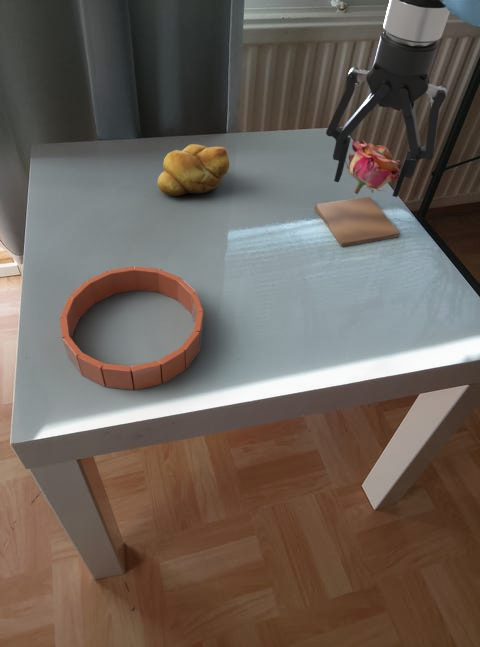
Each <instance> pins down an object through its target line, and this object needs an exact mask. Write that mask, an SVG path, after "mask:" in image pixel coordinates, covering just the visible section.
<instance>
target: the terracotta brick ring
mask: <svg viewBox="0 0 480 647" xmlns="http://www.w3.org/2000/svg"><path fill="white" fill-rule="evenodd" d="M131 291H143V292H155V293H160V294H162V295H164V296H167V297H169V298H172V299H174V300H176V301H178V302H179V303H180V304H181V305H182V306H183V307H184V308H185V309H186V310H187V311H188V312H189V313H190V314H191V316H192V320H193V322H194V327H193V331H192V332H191V333H190V335H189V336H188V337H187V338H186V339H185V341H184V342H183V344H182V345H181V346H180V347H179V348H177V349H175V350H174V351H172V352H171V353H169V354H167V355H165V356H164V357H162V358H160V359H158V360H154V361H150V362H145V363H140V364H135V365H123V364H113V363H104V362H102V361H101V360H98V359H96V358H94V357H92V356H90V355H88V354H86V353H84V352H82V351H81V349H80V348H79V347H78V346H77V344H76V343H75V342H74V340H73V335H74V333H75V330H76V327H77V325H78V323H79V320H80V318H81V317H82V316H83V315H85V313H87V311H88V310H90V309H91V307H92V306H93V305H94V304H97V303H98V302H100V301H102V300H104V299H106V298H109V297H111V296H112V295H115V294H120V293H126V292H131ZM59 322H60V323H59V324H60V331H61V338H62V341H63V344H64V347H65V351H66V354H67V358H68V359H69V360H70V362H71V363H72V364H73V366H74V367H75V368H76V370H78V372H79V373H80V374H81V375H82V376H83V377H84V378H86V379H89V380H90V381H92V382H94V383H96V384H98V385H100V386H102V387H106V388H110V389H120V390H128V391H137V390H141V389H146V388H150V387H154V386H155V387H156V386H159V385H162V384H165V383H167V382H168V381H170V380H172V379H173V378H175V377H177V376H178V375H179V374H181V373H183V372H185V371H186V370H187V369H188V368H189V367H190V365H191V364H192V362H193V360H194V359H195V358H196V357H197V356H198V354H199V352H200V351H201V346H202V340H203V334H204V308H203V306H202V304H201V301H200V298H199V294H198V292H196V290H194V288H192V287H191V286H190V285H189V284H188V283H187V282H186V281H185V280H184V279H183V278H181V277H180V276H177V275H175V274H173V273H171V272H168V271H166V270H163V269H161V268H160V269H159V268H155V267H154V268H153V267H147V266H146V267H144V266H136V265H135V266H128V267H120V268H114V269H109V270H107V271H104V272H102V273H100V274H98V275H95V276H93V277H91V278H89V279H86V281H84V282H83V283H82V284H81V285H80V286H78V288H76V289H75V291H73V292H72V293H71V294H70V295H69V296H68V298H67V300H66V302H65V304H64V306H63V308H62V311H61V313H60V317H59Z"/></svg>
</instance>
